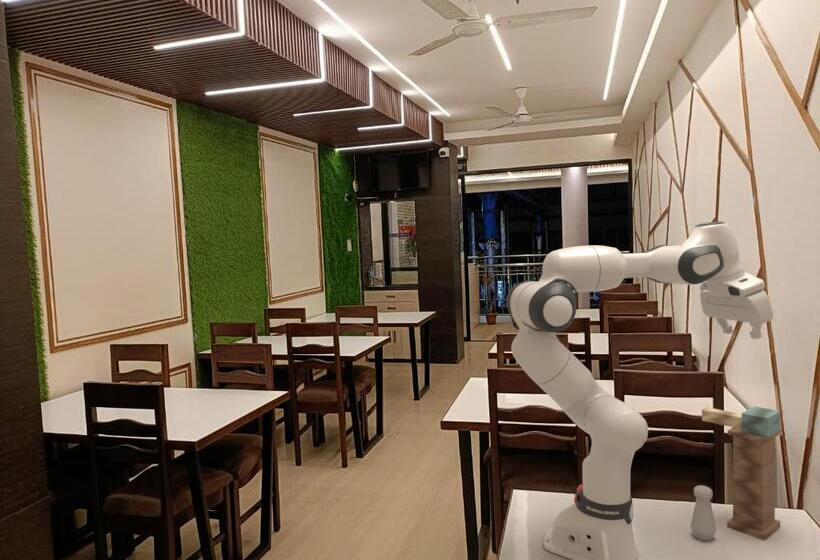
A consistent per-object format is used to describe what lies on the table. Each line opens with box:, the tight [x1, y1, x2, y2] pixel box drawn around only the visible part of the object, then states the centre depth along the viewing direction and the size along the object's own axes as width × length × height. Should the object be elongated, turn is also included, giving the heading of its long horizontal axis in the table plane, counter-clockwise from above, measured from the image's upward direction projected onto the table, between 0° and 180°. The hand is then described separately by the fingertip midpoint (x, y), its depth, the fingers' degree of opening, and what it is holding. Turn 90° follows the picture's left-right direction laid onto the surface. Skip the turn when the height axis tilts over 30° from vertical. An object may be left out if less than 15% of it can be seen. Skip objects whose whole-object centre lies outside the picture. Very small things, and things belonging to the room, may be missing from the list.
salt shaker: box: [690, 484, 717, 542], centre depth 147 cm, size 6×6×13 cm
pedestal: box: [726, 427, 782, 542], centre depth 151 cm, size 9×10×26 cm
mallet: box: [701, 406, 781, 438], centre depth 152 cm, size 17×8×5 cm, turn 39°
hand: (742, 335), depth 146 cm, fingers open, 8 cm apart
